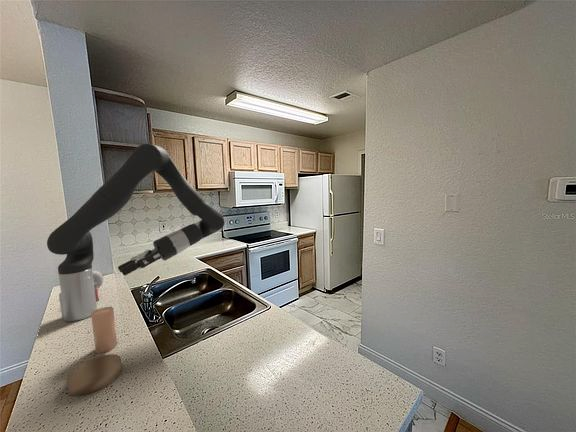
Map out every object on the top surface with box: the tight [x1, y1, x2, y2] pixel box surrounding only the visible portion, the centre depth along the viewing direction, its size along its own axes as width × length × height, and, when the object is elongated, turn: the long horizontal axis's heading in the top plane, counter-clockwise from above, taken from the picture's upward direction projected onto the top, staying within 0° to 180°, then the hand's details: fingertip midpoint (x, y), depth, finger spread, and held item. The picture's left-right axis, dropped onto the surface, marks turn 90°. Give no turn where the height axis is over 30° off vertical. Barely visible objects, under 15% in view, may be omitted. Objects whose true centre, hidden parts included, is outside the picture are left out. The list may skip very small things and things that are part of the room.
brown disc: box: [66, 353, 123, 397], centre depth 56 cm, size 10×10×2 cm
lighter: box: [93, 278, 100, 303], centre depth 101 cm, size 8×3×10 cm, turn 62°
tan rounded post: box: [90, 306, 118, 354], centre depth 68 cm, size 5×5×11 cm
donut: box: [92, 270, 104, 290], centre depth 111 cm, size 10×4×10 cm, turn 140°
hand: (120, 271), depth 71 cm, fingers open, 8 cm apart
